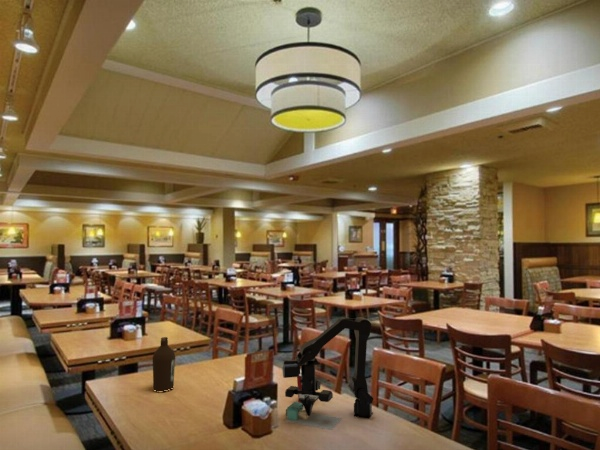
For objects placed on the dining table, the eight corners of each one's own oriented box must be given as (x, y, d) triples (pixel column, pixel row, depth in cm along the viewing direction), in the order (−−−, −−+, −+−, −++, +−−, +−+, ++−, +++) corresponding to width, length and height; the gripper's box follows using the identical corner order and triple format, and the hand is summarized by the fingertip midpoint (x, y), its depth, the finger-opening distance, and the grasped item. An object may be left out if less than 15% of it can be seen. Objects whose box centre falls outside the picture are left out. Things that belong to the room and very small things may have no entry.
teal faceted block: (303, 414, 174) (303, 403, 174) (296, 420, 167) (296, 409, 168) (294, 412, 175) (294, 401, 175) (287, 418, 169) (287, 407, 169)
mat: (342, 419, 170) (342, 418, 170) (332, 430, 159) (332, 429, 159) (296, 411, 178) (296, 410, 178) (284, 422, 167) (284, 421, 167)
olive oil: (150, 394, 199) (151, 340, 200) (153, 386, 209) (154, 336, 211) (173, 392, 201) (174, 339, 203) (175, 385, 212) (176, 335, 213)
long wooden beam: (308, 417, 170) (308, 410, 171) (306, 419, 168) (306, 413, 168) (288, 413, 174) (288, 407, 174) (285, 416, 172) (285, 409, 172)
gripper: (336, 372, 174) (337, 411, 173) (295, 368, 181) (296, 405, 180) (327, 380, 163) (328, 421, 162) (284, 375, 171) (284, 415, 170)
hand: (309, 415), depth 169 cm, fingers closed
